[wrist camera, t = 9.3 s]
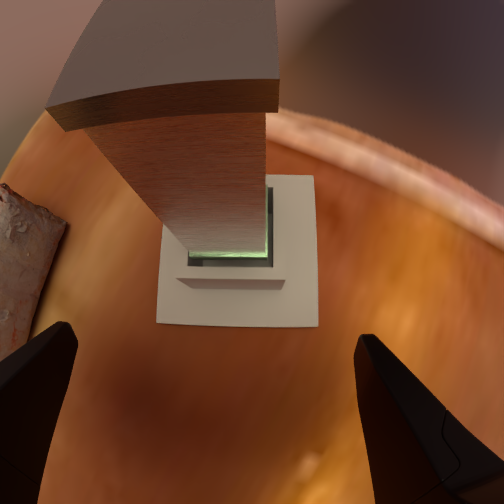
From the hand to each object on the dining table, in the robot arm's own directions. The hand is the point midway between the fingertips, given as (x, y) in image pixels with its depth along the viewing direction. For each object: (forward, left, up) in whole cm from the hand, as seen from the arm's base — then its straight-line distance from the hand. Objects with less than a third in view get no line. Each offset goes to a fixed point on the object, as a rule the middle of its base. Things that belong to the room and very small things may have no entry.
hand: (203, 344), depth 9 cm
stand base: (+5, +3, -11) cm, 13 cm away
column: (+5, +3, -7) cm, 9 cm away
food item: (-7, +17, -12) cm, 22 cm away
